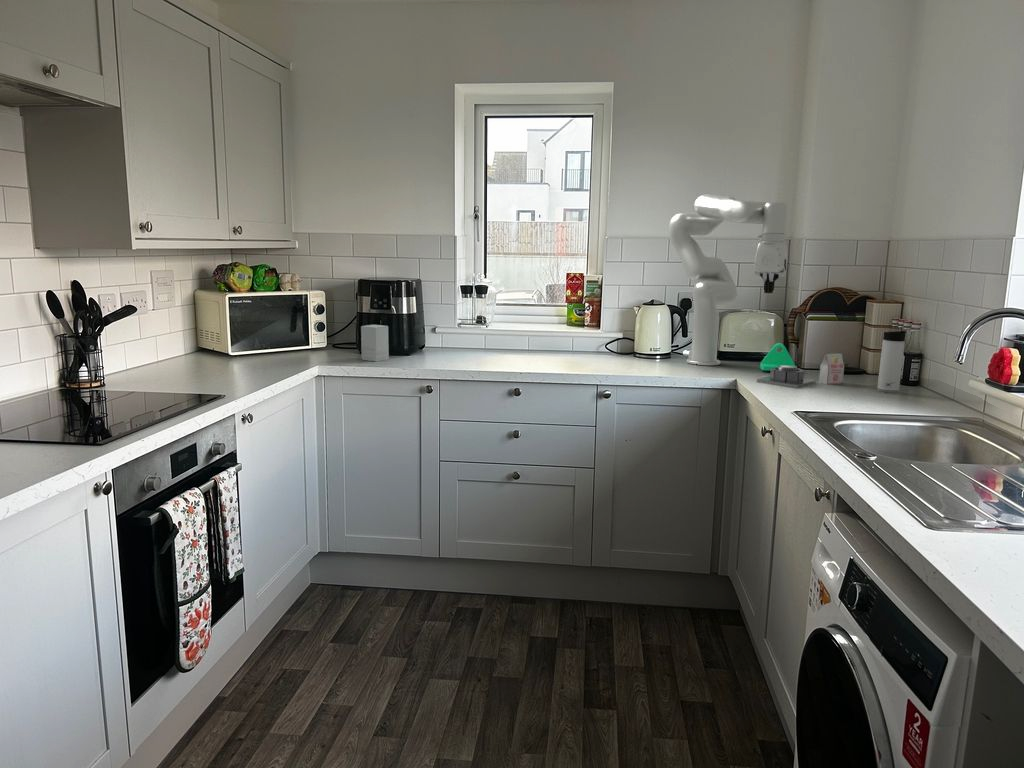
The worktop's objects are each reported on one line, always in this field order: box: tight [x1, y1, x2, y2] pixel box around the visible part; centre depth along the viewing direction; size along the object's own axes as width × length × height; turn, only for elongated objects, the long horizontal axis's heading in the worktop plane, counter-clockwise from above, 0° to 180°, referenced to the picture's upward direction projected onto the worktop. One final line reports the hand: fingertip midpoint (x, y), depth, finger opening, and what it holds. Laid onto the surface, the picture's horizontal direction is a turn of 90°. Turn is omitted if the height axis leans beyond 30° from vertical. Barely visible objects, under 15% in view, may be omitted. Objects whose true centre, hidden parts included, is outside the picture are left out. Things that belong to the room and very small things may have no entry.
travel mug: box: [876, 330, 907, 394], centre depth 244 cm, size 6×7×20 cm
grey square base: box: [756, 367, 817, 389], centre depth 258 cm, size 14×14×4 cm
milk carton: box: [818, 353, 845, 385], centre depth 259 cm, size 4×7×10 cm, turn 110°
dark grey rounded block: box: [778, 365, 798, 371], centre depth 258 cm, size 6×6×4 cm
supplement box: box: [360, 324, 390, 362], centre depth 284 cm, size 7×7×13 cm
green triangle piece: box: [759, 342, 797, 372], centre depth 279 cm, size 12×8×10 cm, turn 77°
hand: (768, 292), depth 266 cm, fingers closed
